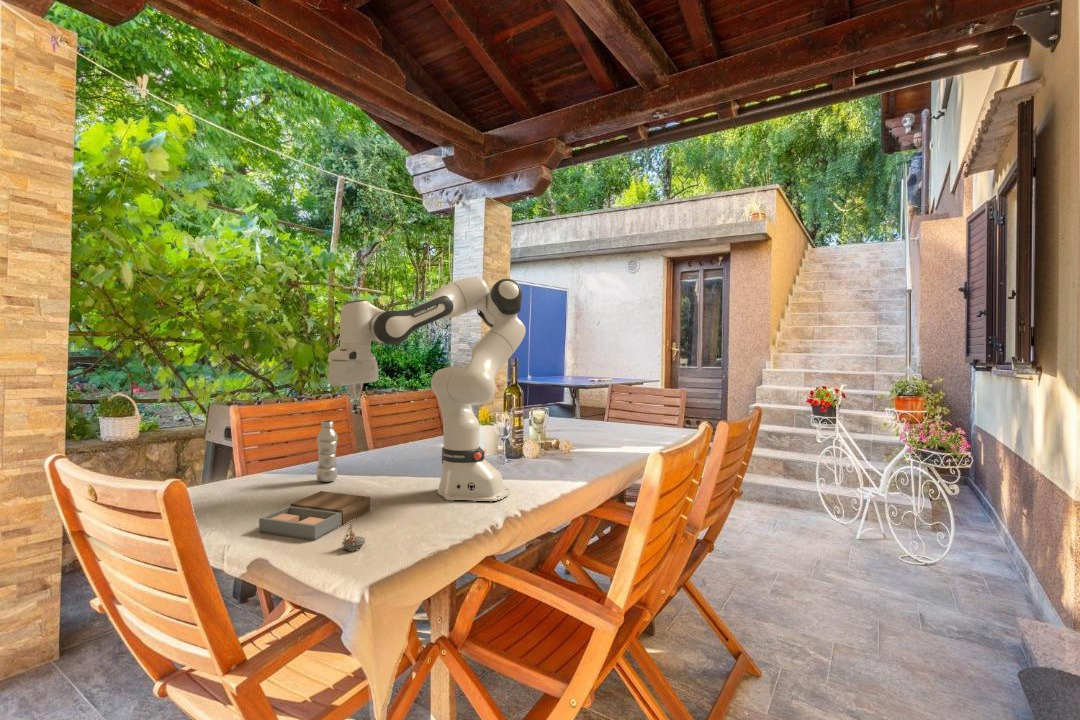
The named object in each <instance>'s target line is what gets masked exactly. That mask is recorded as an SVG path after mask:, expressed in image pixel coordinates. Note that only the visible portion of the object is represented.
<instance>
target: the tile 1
mask: <svg viewBox="0 0 1080 720" xmlns="http://www.w3.org/2000/svg"><path fill="white" fill-rule="evenodd" d="M270 519H277V520H285V521H292V522H299V516H297V515H290V514H284V513H283V514H280V515H278V516H275V517H273V518H270Z"/></svg>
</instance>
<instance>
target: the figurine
mask: <svg viewBox="0 0 1080 720" xmlns="http://www.w3.org/2000/svg"><path fill="white" fill-rule="evenodd" d="M347 532H349V533H348V534H347V533H346V534H345V536H344V538H343V539H342V540H343V541H342V543H341V547H342V548H341V549H342V550H347V551H349V552H351V551H354V552H356V551H357V549H359V548H360V547H361V548H362V547H363V545H364V544H365V543H366V538H365V537H363V536H361V535H360V536H358V535H357V536H356V533H355V532H354V530H353V524H352V523H350V524H349V527H348V530H347ZM361 548H360V549H361ZM360 549H359V550H360ZM355 550H356V551H355Z"/></svg>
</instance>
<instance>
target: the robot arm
mask: <svg viewBox="0 0 1080 720" xmlns="http://www.w3.org/2000/svg"><path fill="white" fill-rule="evenodd" d="M522 301H523V290H522V287H521V285H520V284H519V283H518V282H517V281H515V280H513V279H512V278H501V279H499V280H498V281H496V282H495V283H494V284H493V285H492V287H489V286H488V284H487V282H486V281H485V280H484V279H483V278H482V277H479V276H471V277H466V278H461V279H457V280H455V281H452V282H450V283H447V284H445V285H443V286H441V287H440V288H438V289H436V290H435V291H434V292H433V293H432V295H431V298H429V300H427V301H426V302H423V303H422V304H419V305H415V306H414V307H410V308H409V309H406V310H383V309H381V308H379V307H378V306H375V305H373V304H372V303H370V301H368V300H366V299H358V300H351V301H347V302H345V303H344V304H343V305H342V306H341V308H340V309H341V311H340V316H339V319H340V320H339V323H340V324H339V330H340V337H341V338H340V341H339V347H337V348H336V349H333V350H332V351H330V352H329V353H328V359H329V360H330V361H329V364H328V382H329V384H330V386H332V387H343V386H344V387H345V386H346V388H347V389H346V390H347V391H348V393H349V399H350V400H357V399H360V398H361V393H362V390H363V387H364V384H367V383H375V382H377V381H378V380H379V365H378V361H377V358H376V356H375V354H374V353H372V352H371V351H372V349H371V346H372V345H371V343H372V341H376V342H378V343H382V344H386V345H390V346H392V345H400V344H401V343H403V342H404V341H405V340H407V338H408V337H409V336H411V334H412V333H413V332H415V330H417V329H420V328H422V327H424V326H426V325H429V324H432V323H433V322H436V321H438V320H447V319H452V318H456V317H459V316H461V315H464V314H466V313H469V312H472V311H474V310H475V311H476V313H477V315H478V316H479V317H480V318H481V319H482V321H483V322H484V324H485V325H487V326H488V328H490V329H489V330H488V331H487V332H486V333H485V334H484V335H483V336H482V337H481V338H480V339H479V340H478V342H477V343H476V344H475V345H474V346H473V347H472V349H471V359H470V361H469V363H467V365H465V366H463V367H457V366H447V367H444V368H441V369H437V371H435V372H434V374H433V375H432V377H431V380H430V388H431V391H432V392H433V395H435V397H436V399H437V401H438V405H439V408H440V412H441V416H442V424H443V446H442V447H441V464H442V467H441V468H442V469H441V476H440V482H439V485H438V487H437V488H438V489H437V491H436V492H437V494H438V495H440V496H441V497H443V498H445V499H446V501H454V500H477V501H497V500H500V499H502V500H504V499H505V498H504V497H506V496H507V495H508V494H509V493H510V492H511V489H510V487H508V486H504V482H503V476H502V473H501V471H499V470H498V469H497V468H495V466H493V465H492V464H491V463H489V462H488V460H487V459H485V454H486V453H487V449H482V448H481V447H480V422H479V420H478V418H477V416H476V414H475V413H474V410H473V407H472V406H477V405H478V406H479V405H480V406H481V405H484V404H485V405H486V404H487V403H489V402H491V401H492V399H493V398H494V396H495V394H496V391H497V390H496V389H497V388H496V387H497V386H496V381H495V380H496V377H497V375H498V374H499V372H500V370H501V369H502V367H504V365H505V364H506V363H507V361H508V360H510V358H511V357H512V355H513V354H514V353H515V352H516V351H517V349H519V348H518V347H519V346H520V345H521V343H522V342H523V340H524V338H525V335H526V326H525V324H524V323H523V322H522V320H520V319H519V318H518V313H519V312H521V307H522ZM509 495H510V494H509ZM509 495H508V496H509ZM508 496H507V497H508ZM507 497H506V498H507ZM503 498H504V499H503ZM445 499H444V500H445ZM500 501H501V500H500ZM497 502H498V501H497Z"/></svg>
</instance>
